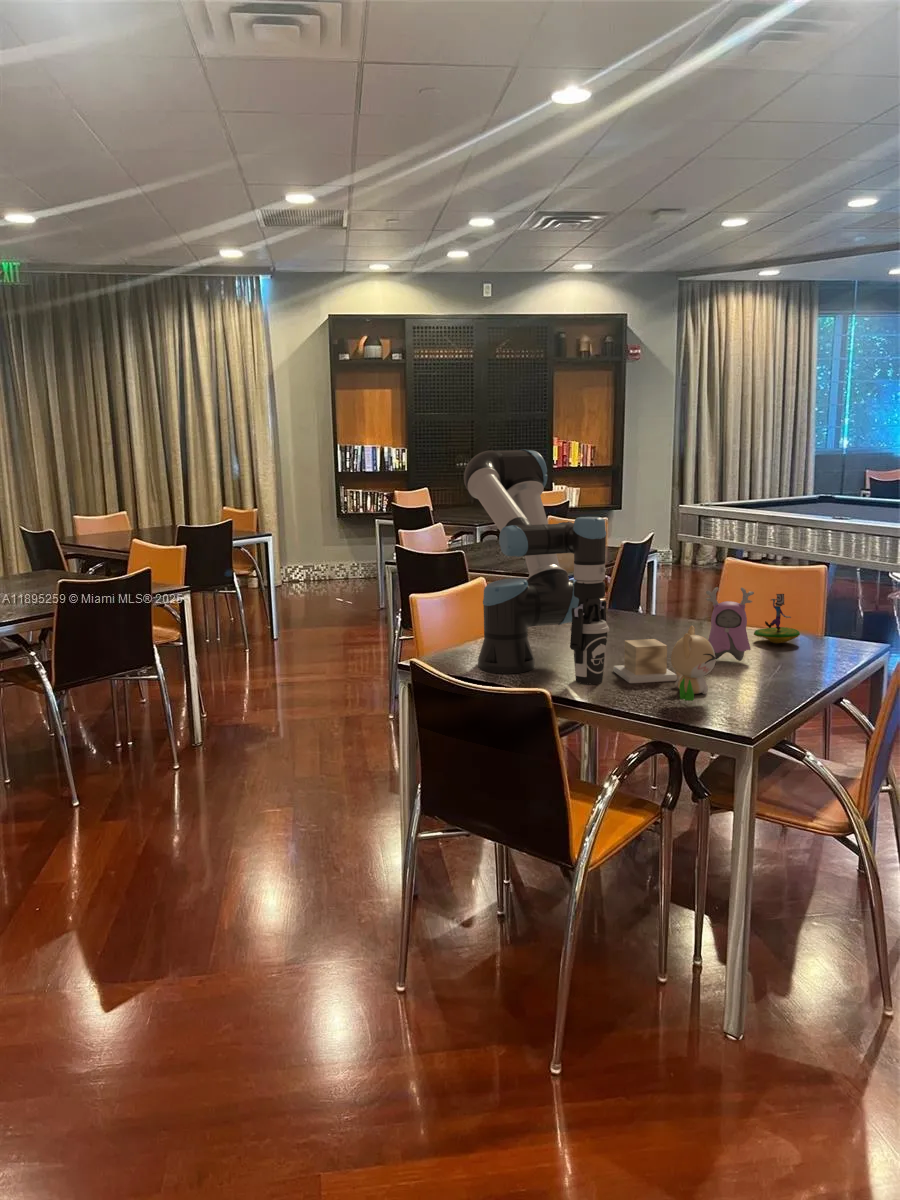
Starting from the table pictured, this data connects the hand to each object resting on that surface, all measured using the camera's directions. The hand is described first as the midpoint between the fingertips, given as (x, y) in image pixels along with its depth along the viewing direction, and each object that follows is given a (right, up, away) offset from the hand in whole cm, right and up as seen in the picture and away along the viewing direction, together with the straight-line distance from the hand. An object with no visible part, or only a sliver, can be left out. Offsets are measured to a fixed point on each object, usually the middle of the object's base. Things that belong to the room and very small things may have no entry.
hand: (589, 672), depth 202 cm
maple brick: (+15, 0, +4) cm, 15 cm away
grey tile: (+15, -1, +4) cm, 15 cm away
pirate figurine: (+61, +5, +38) cm, 72 cm away
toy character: (+40, +1, +18) cm, 44 cm away
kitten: (+22, -4, -12) cm, 25 cm away
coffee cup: (0, -2, +1) cm, 2 cm away
